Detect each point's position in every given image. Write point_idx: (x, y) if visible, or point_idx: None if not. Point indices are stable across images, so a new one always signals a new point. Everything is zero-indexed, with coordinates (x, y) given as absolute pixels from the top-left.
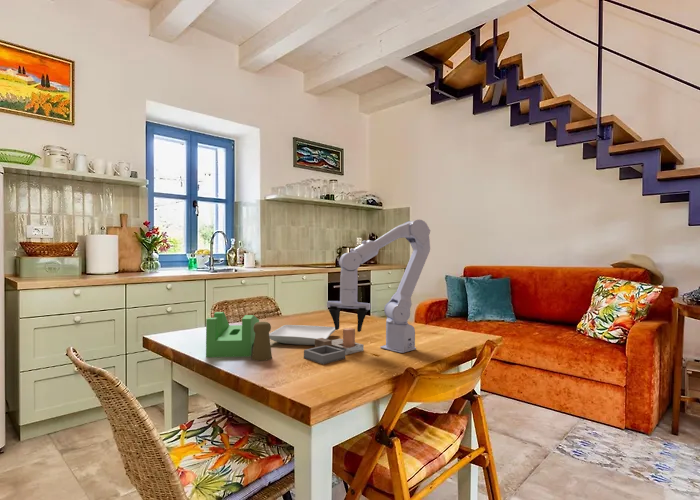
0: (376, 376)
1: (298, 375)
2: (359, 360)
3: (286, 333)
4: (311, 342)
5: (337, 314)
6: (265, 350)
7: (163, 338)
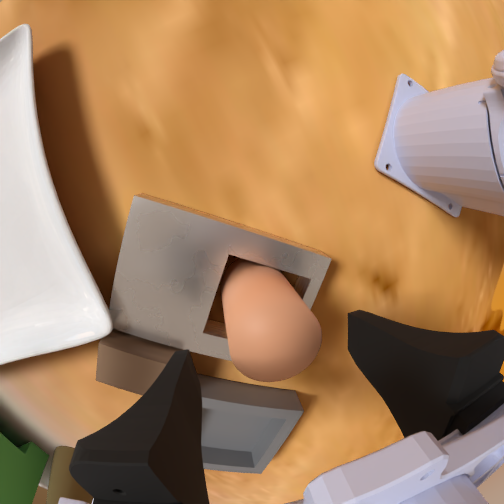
0: None
1: (250, 500)
2: (347, 376)
3: None
4: (56, 325)
5: (192, 465)
6: None
7: None
